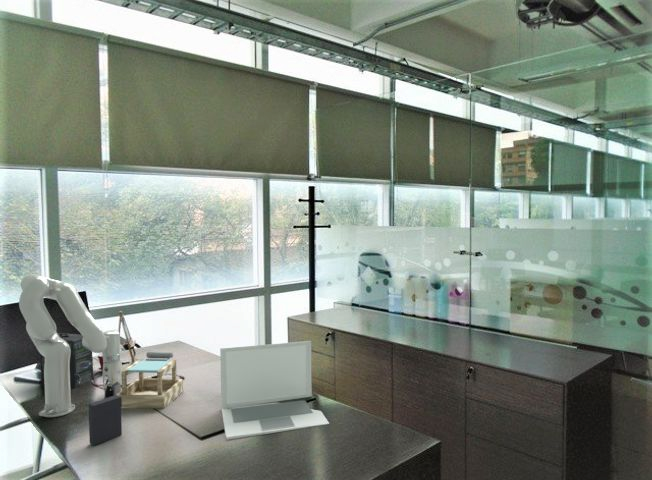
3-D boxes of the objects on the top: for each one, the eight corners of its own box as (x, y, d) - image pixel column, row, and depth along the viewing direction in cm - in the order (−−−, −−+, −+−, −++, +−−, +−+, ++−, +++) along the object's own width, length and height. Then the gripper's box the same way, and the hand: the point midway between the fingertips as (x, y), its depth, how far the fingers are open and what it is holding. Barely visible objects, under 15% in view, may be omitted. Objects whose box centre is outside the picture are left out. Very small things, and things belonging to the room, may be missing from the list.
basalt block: (115, 399, 214) (114, 386, 214) (104, 399, 214) (104, 386, 214) (120, 395, 219) (120, 382, 219) (110, 395, 219) (110, 382, 219)
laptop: (226, 441, 173) (224, 368, 172) (221, 411, 201) (220, 347, 200) (329, 427, 184) (328, 358, 183) (311, 400, 212) (310, 340, 211)
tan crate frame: (164, 410, 201) (163, 373, 201) (114, 409, 203) (113, 372, 202) (183, 391, 223) (182, 358, 223) (138, 390, 225) (137, 357, 224)
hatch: (158, 372, 205) (157, 363, 205) (127, 372, 206) (127, 363, 206) (175, 359, 224) (175, 351, 224) (147, 359, 225) (146, 350, 225)
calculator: (116, 432, 181) (115, 394, 180) (122, 435, 178) (121, 396, 178) (88, 443, 172) (87, 403, 172) (94, 446, 170) (93, 406, 169)
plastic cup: (92, 374, 248) (91, 352, 247) (111, 369, 257) (110, 347, 257) (104, 378, 242) (103, 355, 242) (123, 372, 251) (122, 350, 251)
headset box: (40, 384, 234) (38, 333, 233) (60, 377, 245) (59, 328, 244) (75, 389, 226) (73, 337, 225) (94, 381, 238) (93, 331, 237)
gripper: (109, 363, 207) (111, 403, 208) (128, 352, 224) (129, 389, 225) (93, 363, 207) (94, 403, 208) (113, 352, 224) (114, 389, 225)
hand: (112, 395), depth 216 cm, fingers closed on basalt block, 5 cm apart
